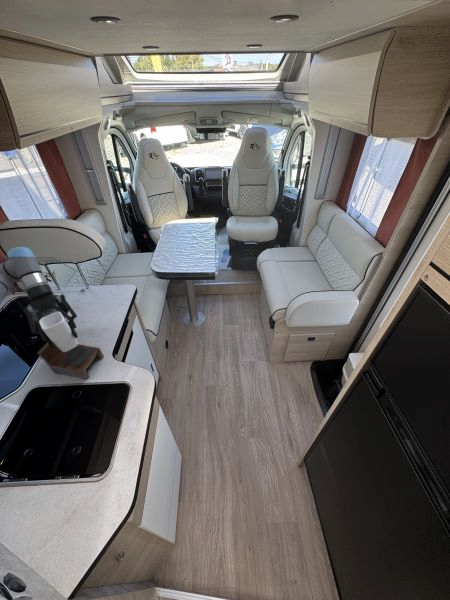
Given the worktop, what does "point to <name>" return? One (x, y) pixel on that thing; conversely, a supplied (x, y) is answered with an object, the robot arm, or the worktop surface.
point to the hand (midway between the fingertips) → (64, 342)
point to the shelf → (70, 359)
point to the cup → (58, 331)
